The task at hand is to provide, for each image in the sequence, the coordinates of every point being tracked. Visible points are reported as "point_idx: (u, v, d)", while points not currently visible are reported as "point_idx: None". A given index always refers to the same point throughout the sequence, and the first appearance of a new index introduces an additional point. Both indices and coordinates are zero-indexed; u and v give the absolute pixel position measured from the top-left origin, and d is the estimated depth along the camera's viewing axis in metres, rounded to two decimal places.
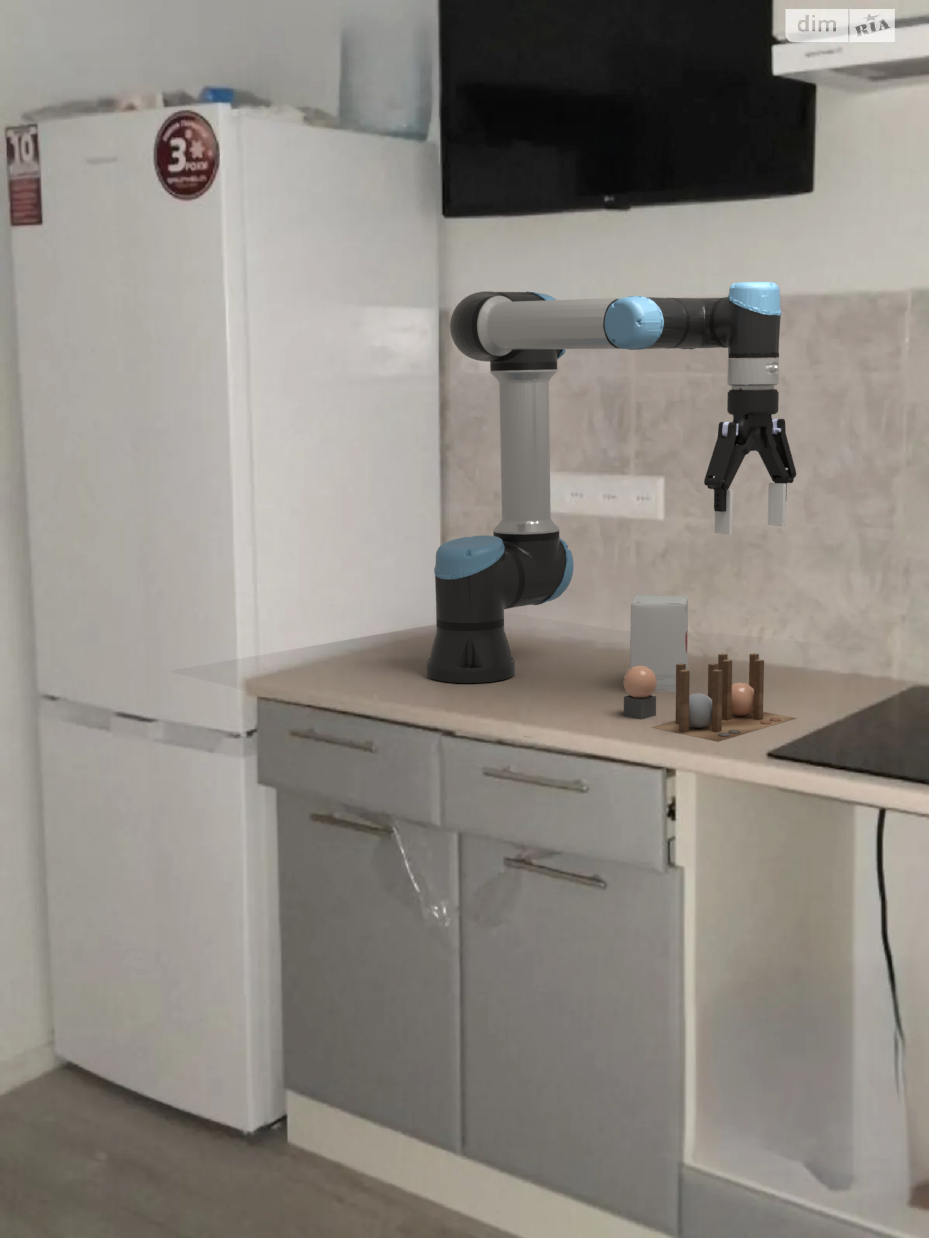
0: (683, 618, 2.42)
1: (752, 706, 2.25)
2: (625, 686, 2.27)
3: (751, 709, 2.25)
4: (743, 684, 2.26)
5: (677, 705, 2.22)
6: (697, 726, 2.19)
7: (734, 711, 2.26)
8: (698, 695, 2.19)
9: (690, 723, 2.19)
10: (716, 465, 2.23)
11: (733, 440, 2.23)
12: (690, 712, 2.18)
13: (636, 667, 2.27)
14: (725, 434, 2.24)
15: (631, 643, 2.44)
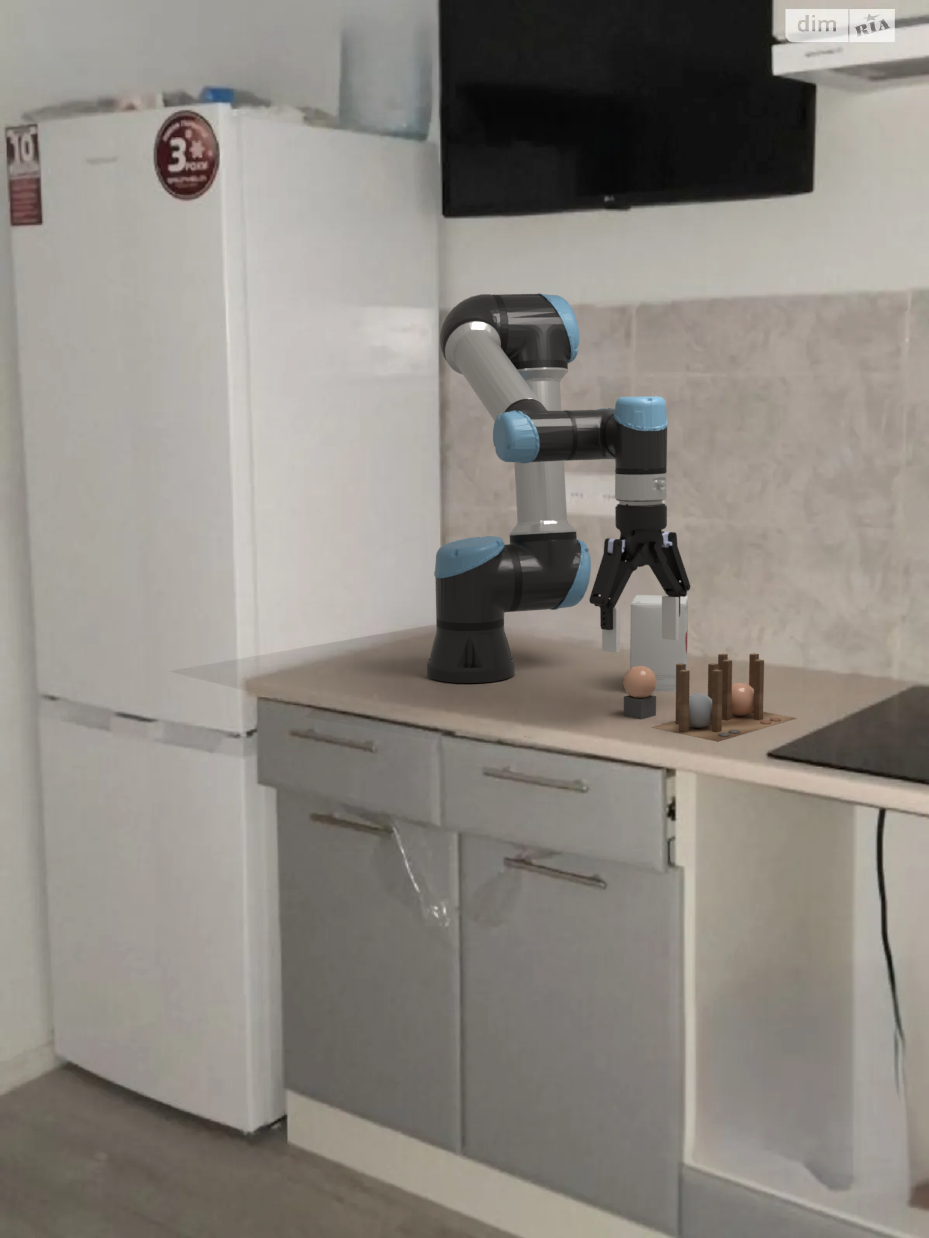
0: (683, 618, 2.42)
1: (752, 706, 2.25)
2: (625, 686, 2.27)
3: (751, 709, 2.25)
4: (743, 684, 2.26)
5: (677, 705, 2.22)
6: (697, 726, 2.19)
7: (734, 711, 2.26)
8: (698, 695, 2.19)
9: (690, 723, 2.19)
10: (601, 583, 2.18)
11: (619, 557, 2.19)
12: (690, 712, 2.18)
13: (636, 667, 2.27)
14: (611, 551, 2.19)
15: (631, 643, 2.44)
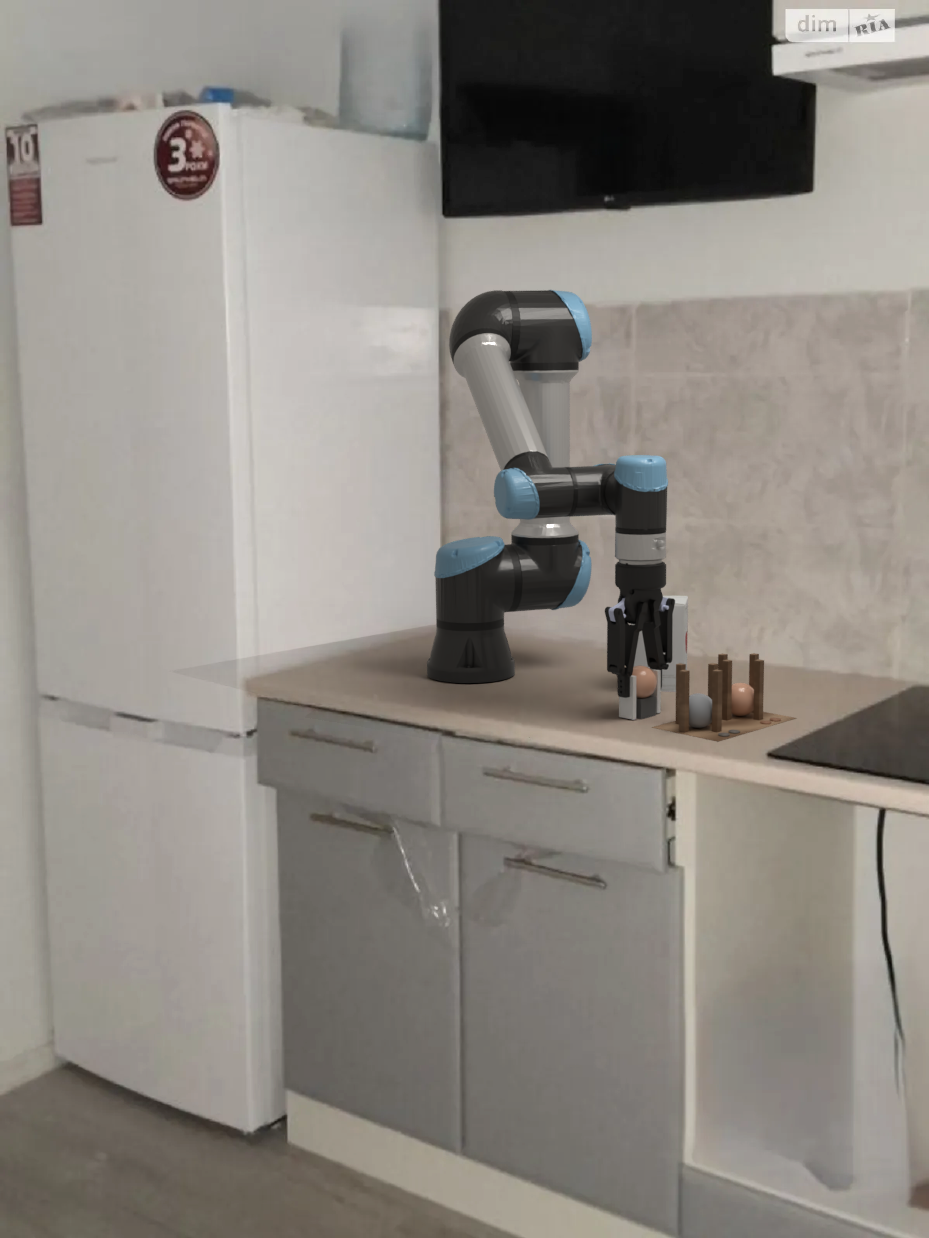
0: (683, 618, 2.42)
1: (752, 706, 2.25)
2: None
3: (751, 709, 2.25)
4: (743, 684, 2.26)
5: (677, 705, 2.22)
6: (697, 726, 2.19)
7: (734, 711, 2.26)
8: (698, 695, 2.19)
9: (690, 723, 2.19)
10: (614, 654, 2.22)
11: (623, 624, 2.22)
12: (690, 712, 2.18)
13: (636, 667, 2.27)
14: (613, 620, 2.22)
15: None
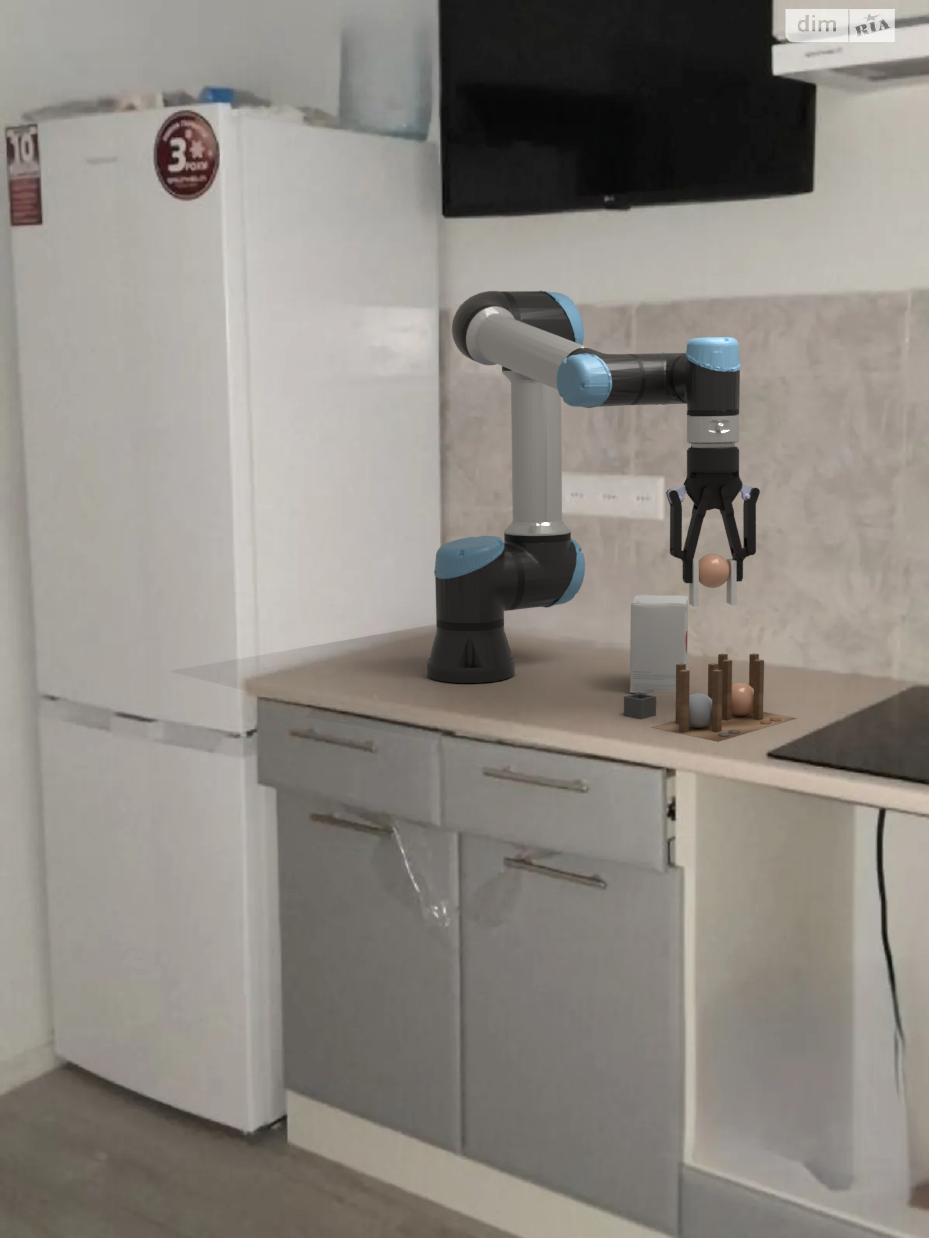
0: (683, 618, 2.42)
1: (752, 706, 2.25)
2: None
3: (751, 709, 2.25)
4: (743, 684, 2.26)
5: (677, 705, 2.22)
6: (697, 726, 2.19)
7: (734, 711, 2.26)
8: (698, 695, 2.19)
9: (690, 723, 2.19)
10: (672, 537, 2.22)
11: (679, 507, 2.20)
12: (690, 712, 2.18)
13: (707, 555, 2.23)
14: (671, 503, 2.21)
15: (631, 643, 2.44)
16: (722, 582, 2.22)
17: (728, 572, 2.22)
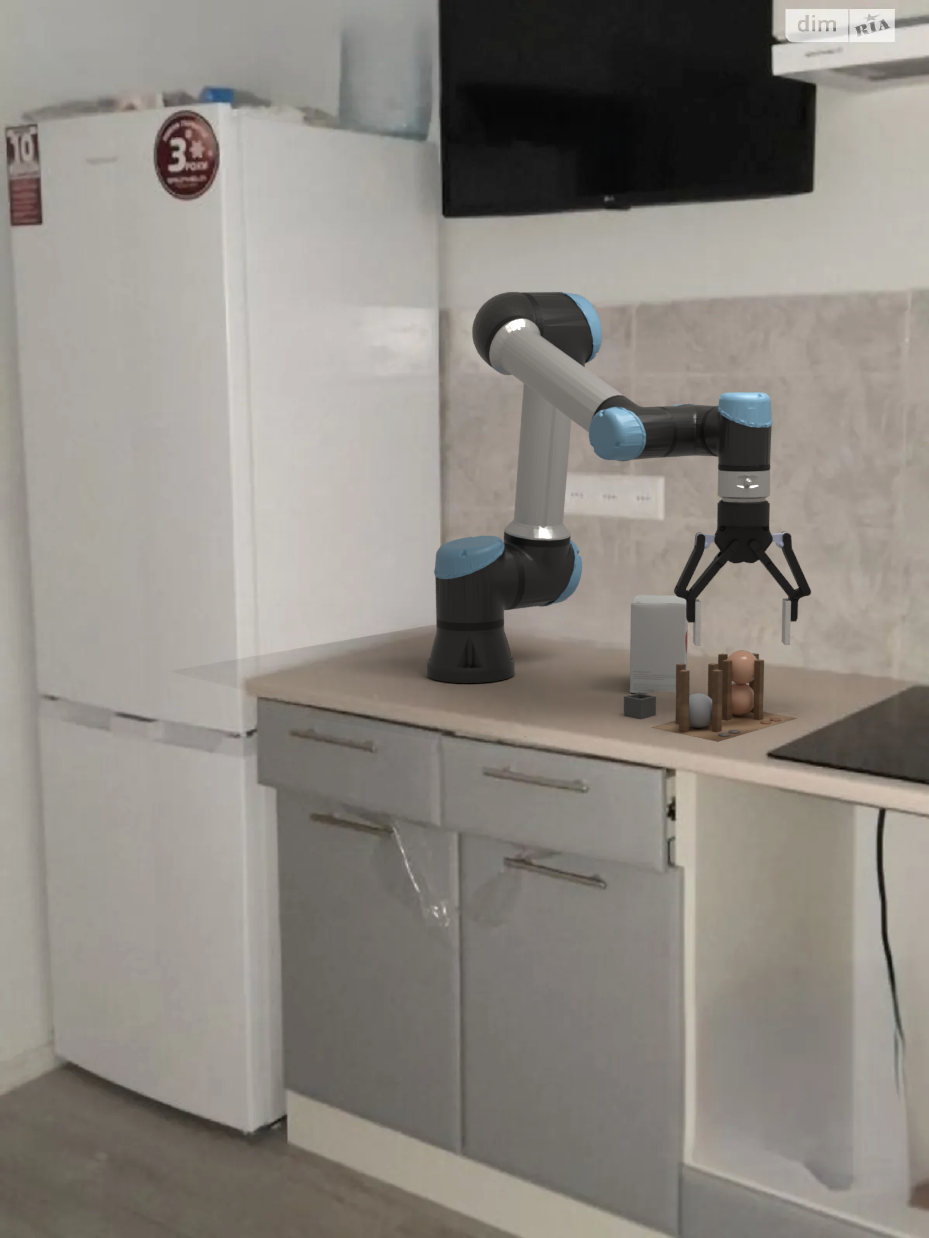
0: (683, 618, 2.42)
1: (751, 704, 2.25)
2: None
3: (750, 707, 2.26)
4: None
5: (677, 705, 2.22)
6: (697, 726, 2.19)
7: (733, 711, 2.26)
8: (698, 695, 2.19)
9: (690, 723, 2.19)
10: (682, 576, 2.24)
11: (700, 552, 2.22)
12: (690, 712, 2.18)
13: (741, 652, 2.25)
14: (696, 545, 2.23)
15: (631, 643, 2.44)
16: (747, 682, 2.25)
17: None
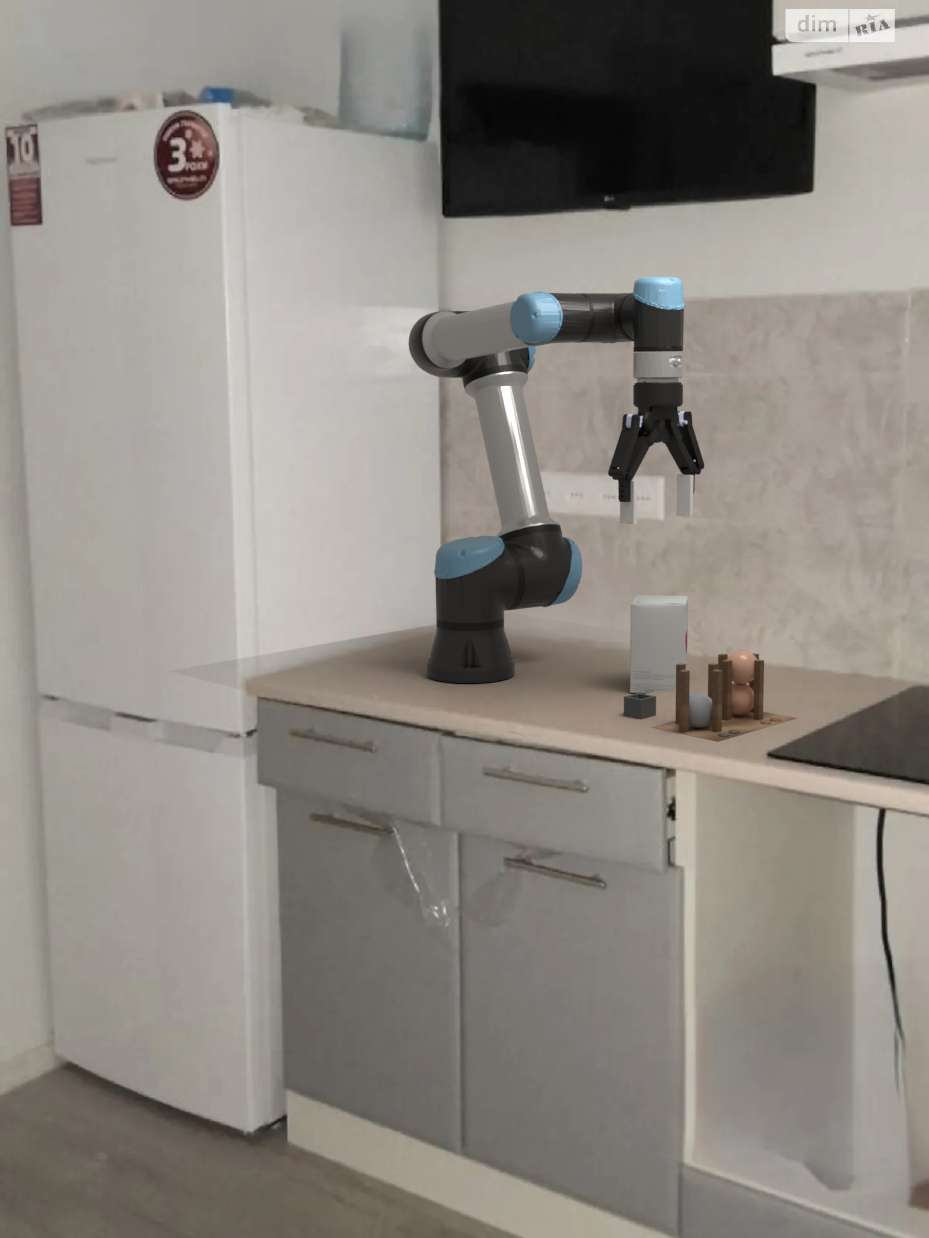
0: (683, 618, 2.42)
1: (751, 704, 2.25)
2: None
3: (750, 707, 2.26)
4: None
5: (677, 705, 2.22)
6: (697, 726, 2.19)
7: (733, 711, 2.26)
8: (698, 695, 2.19)
9: (690, 723, 2.19)
10: (620, 457, 2.27)
11: (636, 432, 2.28)
12: (690, 712, 2.18)
13: (741, 652, 2.25)
14: (629, 426, 2.28)
15: (631, 643, 2.44)
16: (746, 682, 2.25)
17: None
